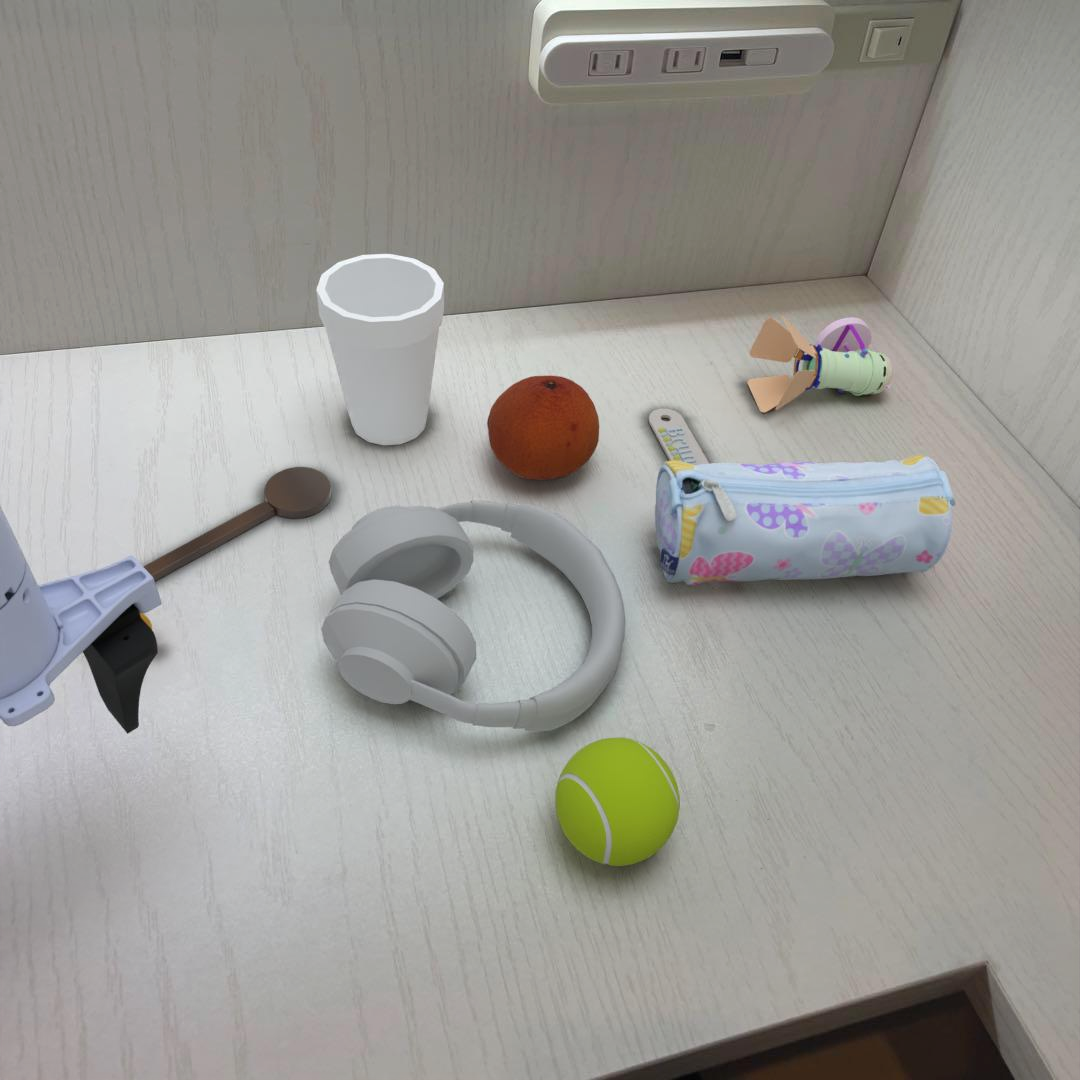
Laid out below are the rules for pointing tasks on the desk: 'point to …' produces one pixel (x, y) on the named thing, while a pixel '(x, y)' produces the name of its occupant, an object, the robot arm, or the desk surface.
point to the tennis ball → (617, 801)
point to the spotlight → (819, 362)
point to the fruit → (543, 427)
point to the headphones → (437, 631)
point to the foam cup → (383, 341)
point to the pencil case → (800, 519)
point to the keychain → (676, 437)
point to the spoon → (255, 515)
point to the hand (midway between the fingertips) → (51, 762)
